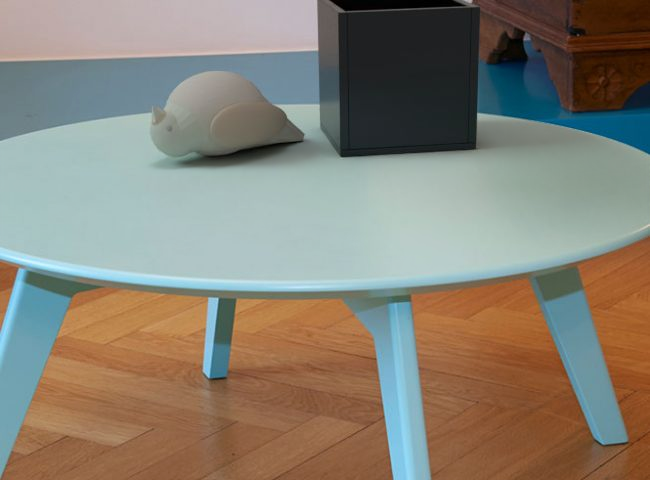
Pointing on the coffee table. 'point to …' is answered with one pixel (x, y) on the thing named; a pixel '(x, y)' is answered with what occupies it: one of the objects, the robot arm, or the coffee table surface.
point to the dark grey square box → (398, 75)
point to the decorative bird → (218, 117)
